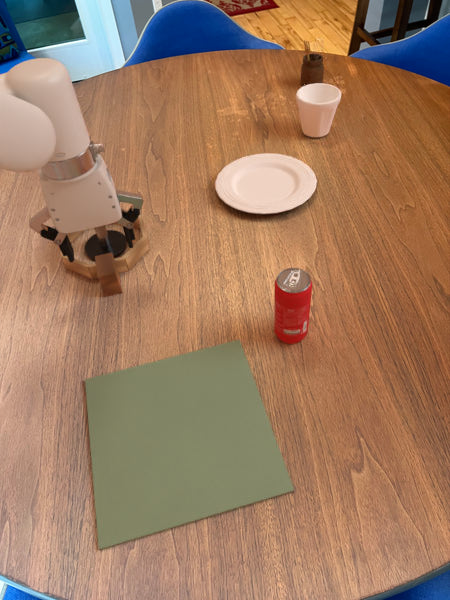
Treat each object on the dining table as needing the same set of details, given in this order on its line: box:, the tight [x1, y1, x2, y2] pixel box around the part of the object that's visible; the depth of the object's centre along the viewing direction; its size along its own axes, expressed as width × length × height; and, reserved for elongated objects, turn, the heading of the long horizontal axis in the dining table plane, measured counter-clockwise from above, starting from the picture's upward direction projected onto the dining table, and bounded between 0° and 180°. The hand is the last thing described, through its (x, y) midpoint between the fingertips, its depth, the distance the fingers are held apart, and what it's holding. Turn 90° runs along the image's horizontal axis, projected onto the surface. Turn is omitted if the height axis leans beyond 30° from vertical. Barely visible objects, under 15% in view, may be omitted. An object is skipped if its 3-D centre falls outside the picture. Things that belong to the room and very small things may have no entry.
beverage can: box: [273, 267, 313, 345], centre depth 70 cm, size 5×5×12 cm
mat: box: [84, 338, 295, 551], centre depth 65 cm, size 24×24×1 cm
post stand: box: [84, 225, 128, 261], centre depth 88 cm, size 8×8×9 cm
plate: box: [214, 152, 318, 216], centre depth 99 cm, size 21×21×2 cm
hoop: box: [59, 209, 151, 297], centre depth 87 cm, size 16×21×5 cm
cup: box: [295, 82, 342, 139], centre depth 109 cm, size 10×10×9 cm
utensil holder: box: [300, 37, 325, 87], centre depth 124 cm, size 6×6×12 cm
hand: (101, 249), depth 78 cm, fingers open, 9 cm apart
